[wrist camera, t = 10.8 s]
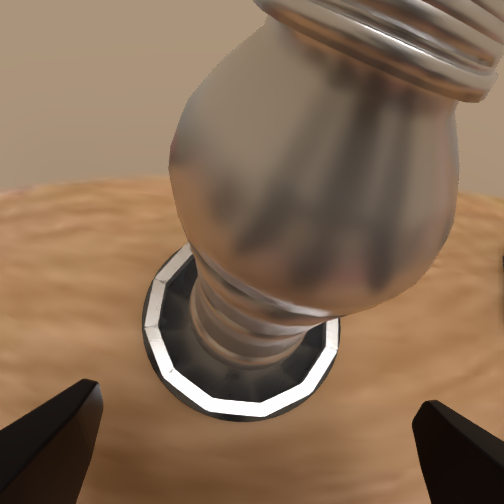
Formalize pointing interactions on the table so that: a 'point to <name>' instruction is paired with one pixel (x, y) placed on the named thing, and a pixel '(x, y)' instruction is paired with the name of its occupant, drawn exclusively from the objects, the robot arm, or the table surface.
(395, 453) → the table surface
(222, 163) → the plastic bottle
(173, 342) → the pad
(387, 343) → the table surface
